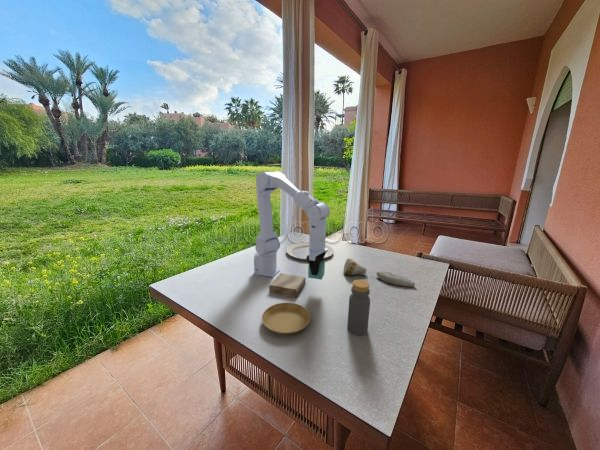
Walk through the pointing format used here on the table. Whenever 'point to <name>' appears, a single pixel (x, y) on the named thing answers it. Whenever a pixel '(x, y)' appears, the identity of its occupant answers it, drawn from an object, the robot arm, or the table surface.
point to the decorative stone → (395, 279)
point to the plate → (306, 244)
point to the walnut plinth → (287, 285)
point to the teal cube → (320, 272)
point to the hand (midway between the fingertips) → (316, 271)
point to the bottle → (359, 308)
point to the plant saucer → (286, 318)
